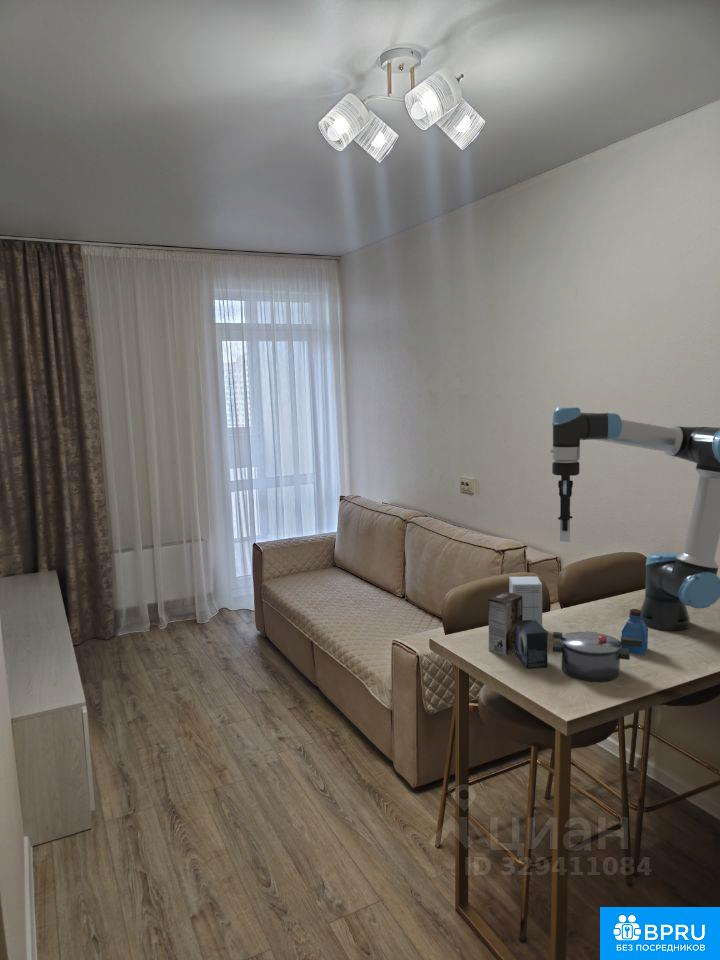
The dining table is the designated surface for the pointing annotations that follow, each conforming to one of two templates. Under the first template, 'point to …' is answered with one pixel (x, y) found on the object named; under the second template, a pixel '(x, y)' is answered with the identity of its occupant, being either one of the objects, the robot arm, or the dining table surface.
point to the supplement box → (528, 596)
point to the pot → (590, 664)
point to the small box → (531, 644)
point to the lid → (595, 642)
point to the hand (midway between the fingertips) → (564, 541)
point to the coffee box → (503, 622)
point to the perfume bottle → (636, 632)
